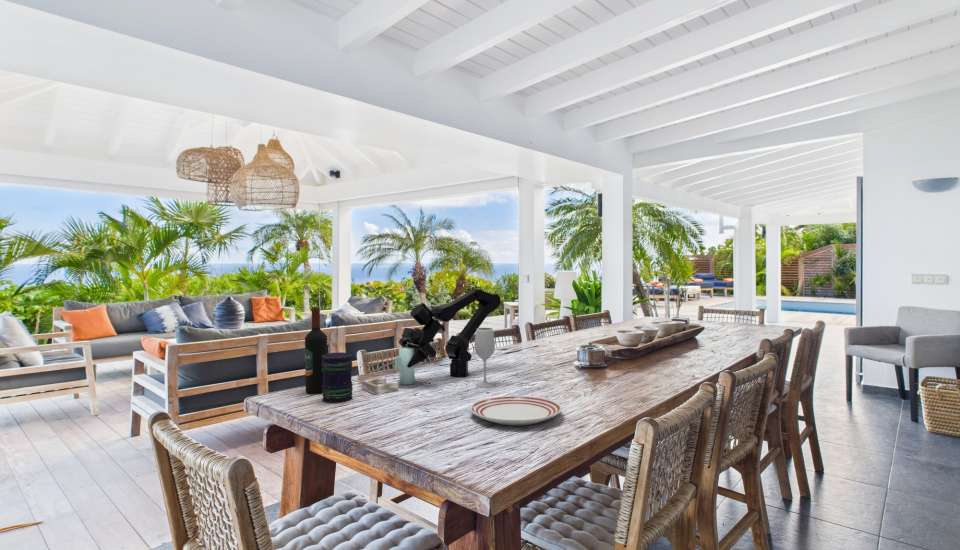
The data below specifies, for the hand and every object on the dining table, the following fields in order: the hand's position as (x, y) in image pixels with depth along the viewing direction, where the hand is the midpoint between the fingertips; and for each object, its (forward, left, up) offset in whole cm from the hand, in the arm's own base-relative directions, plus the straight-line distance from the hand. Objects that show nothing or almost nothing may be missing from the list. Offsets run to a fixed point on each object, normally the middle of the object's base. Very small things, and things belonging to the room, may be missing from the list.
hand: (403, 365), depth 190 cm
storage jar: (+16, +22, -8) cm, 28 cm away
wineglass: (-29, -6, -8) cm, 31 cm away
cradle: (+6, +8, -7) cm, 12 cm away
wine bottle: (+28, +14, -8) cm, 32 cm away
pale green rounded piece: (0, 0, -7) cm, 7 cm away
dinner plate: (-45, +29, -8) cm, 54 cm away
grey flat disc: (-1, -1, -7) cm, 8 cm away
